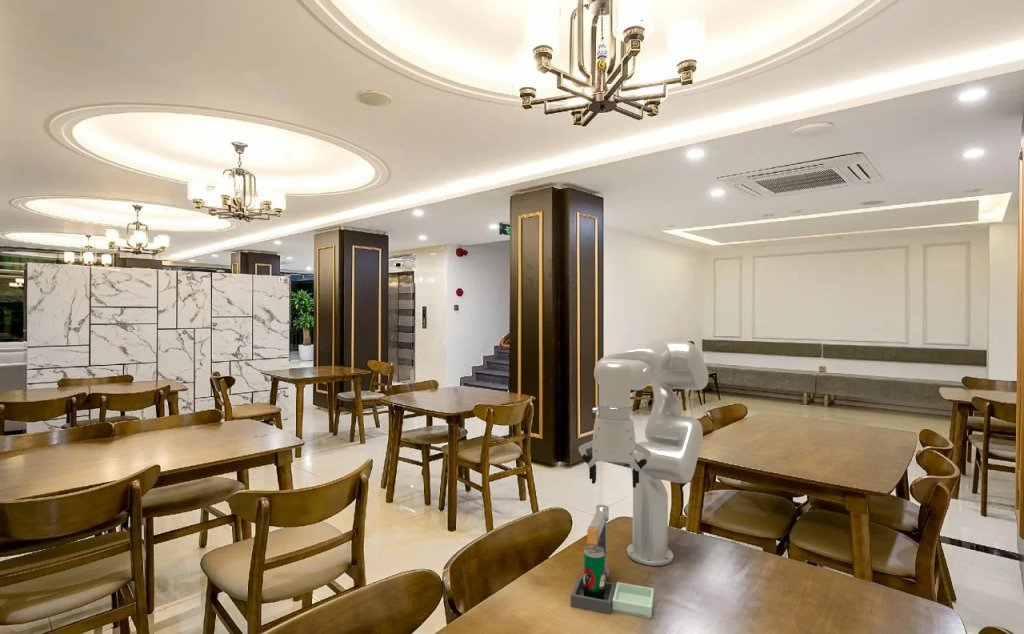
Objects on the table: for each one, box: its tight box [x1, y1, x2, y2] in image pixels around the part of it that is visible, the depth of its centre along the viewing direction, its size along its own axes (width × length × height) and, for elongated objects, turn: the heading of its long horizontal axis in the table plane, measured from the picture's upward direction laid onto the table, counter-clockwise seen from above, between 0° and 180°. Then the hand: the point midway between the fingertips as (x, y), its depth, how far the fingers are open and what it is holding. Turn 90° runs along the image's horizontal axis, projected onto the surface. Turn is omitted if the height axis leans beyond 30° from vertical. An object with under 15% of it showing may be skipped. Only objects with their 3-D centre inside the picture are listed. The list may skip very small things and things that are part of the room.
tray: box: [611, 581, 655, 620], centre depth 116 cm, size 8×8×2 cm
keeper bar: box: [586, 504, 610, 545], centre depth 123 cm, size 17×3×3 cm, turn 161°
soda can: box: [582, 544, 606, 600], centre depth 118 cm, size 5×5×12 cm
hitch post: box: [597, 521, 611, 582], centre depth 127 cm, size 9×4×14 cm, turn 161°
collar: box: [570, 576, 617, 615], centre depth 118 cm, size 9×9×2 cm
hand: (614, 484), depth 121 cm, fingers open, 9 cm apart
